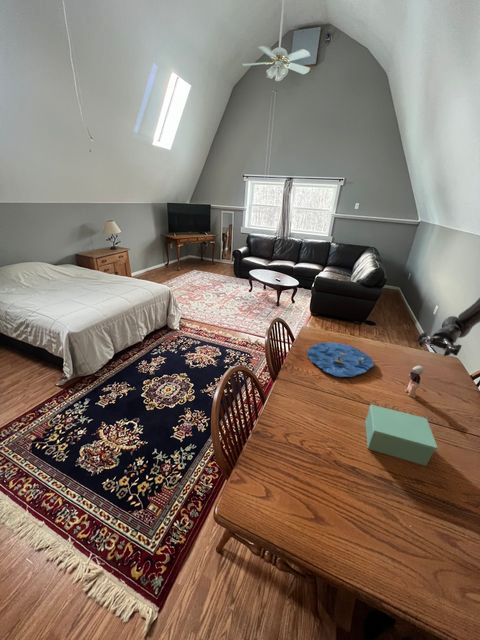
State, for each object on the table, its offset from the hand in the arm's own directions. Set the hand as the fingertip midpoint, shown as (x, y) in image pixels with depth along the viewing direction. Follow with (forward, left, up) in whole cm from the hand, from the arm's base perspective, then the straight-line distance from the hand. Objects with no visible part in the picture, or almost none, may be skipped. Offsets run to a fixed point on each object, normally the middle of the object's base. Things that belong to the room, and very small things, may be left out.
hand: (433, 348), depth 106 cm
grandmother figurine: (+6, +10, -16) cm, 20 cm away
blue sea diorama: (+33, -3, -16) cm, 37 cm away
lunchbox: (+16, +39, -16) cm, 45 cm away
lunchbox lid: (+15, +39, -9) cm, 43 cm away
